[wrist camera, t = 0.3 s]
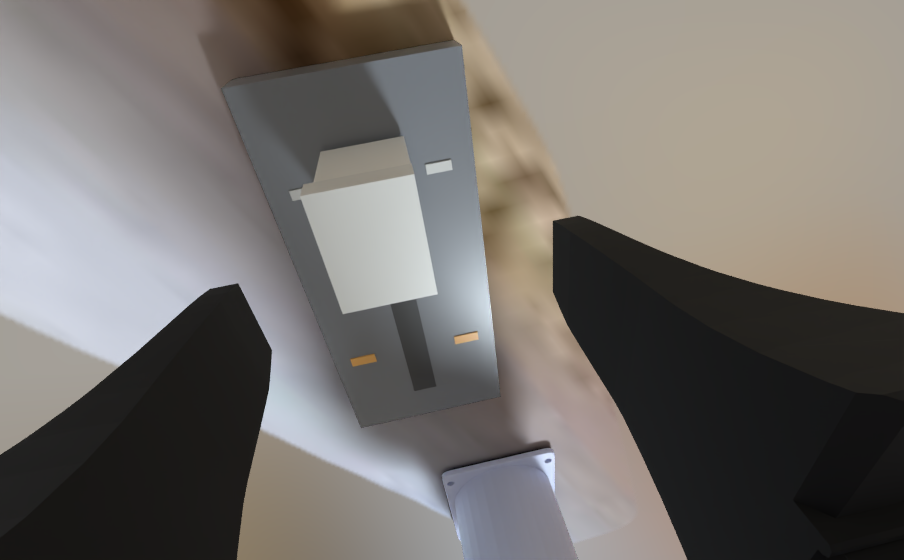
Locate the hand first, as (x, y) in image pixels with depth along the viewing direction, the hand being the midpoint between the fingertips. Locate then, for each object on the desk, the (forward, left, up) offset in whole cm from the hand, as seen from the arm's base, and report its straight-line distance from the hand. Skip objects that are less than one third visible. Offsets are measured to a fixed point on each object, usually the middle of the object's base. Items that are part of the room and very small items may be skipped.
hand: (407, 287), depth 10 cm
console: (-5, +1, -10) cm, 11 cm away
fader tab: (0, +1, -8) cm, 8 cm away
